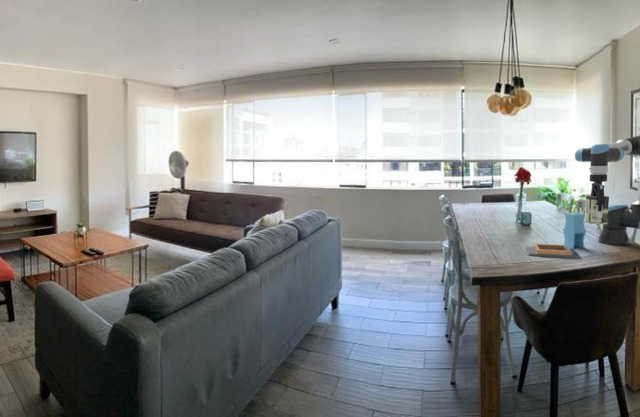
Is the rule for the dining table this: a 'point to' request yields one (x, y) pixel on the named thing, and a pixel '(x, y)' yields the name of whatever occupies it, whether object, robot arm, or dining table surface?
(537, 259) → the dining table surface
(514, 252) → the dining table surface
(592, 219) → the coffee can
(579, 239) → the open-sided blue scoop
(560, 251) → the collar plate
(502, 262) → the dining table surface
